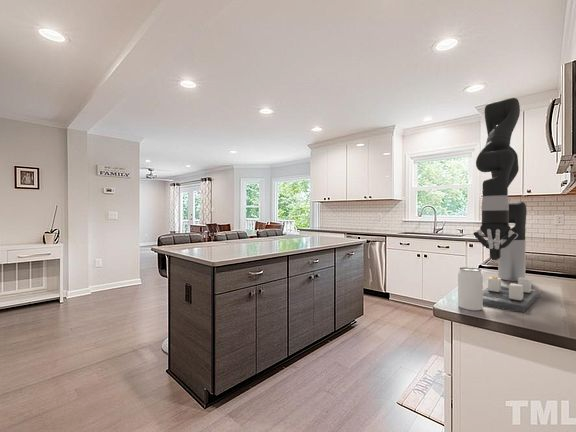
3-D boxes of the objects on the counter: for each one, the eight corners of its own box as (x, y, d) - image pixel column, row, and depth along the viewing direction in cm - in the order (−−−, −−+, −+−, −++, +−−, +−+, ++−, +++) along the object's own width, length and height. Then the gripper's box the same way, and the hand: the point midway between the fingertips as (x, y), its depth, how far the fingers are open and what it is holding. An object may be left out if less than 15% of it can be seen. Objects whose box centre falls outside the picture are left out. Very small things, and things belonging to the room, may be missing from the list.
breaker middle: (490, 288, 102) (490, 275, 102) (501, 290, 99) (501, 277, 99) (488, 290, 100) (488, 277, 100) (498, 291, 98) (498, 278, 97)
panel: (494, 288, 110) (494, 283, 110) (539, 296, 100) (539, 289, 100) (473, 302, 94) (473, 295, 94) (523, 313, 84) (523, 305, 84)
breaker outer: (511, 296, 92) (511, 283, 92) (523, 298, 90) (523, 284, 90) (508, 298, 91) (508, 284, 90) (520, 300, 88) (521, 286, 88)
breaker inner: (520, 289, 100) (520, 277, 100) (531, 290, 98) (531, 278, 98) (517, 290, 98) (518, 278, 98) (529, 292, 96) (529, 280, 96)
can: (486, 311, 86) (486, 271, 85) (462, 310, 87) (462, 270, 87) (477, 304, 92) (477, 267, 92) (454, 303, 93) (454, 266, 93)
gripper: (521, 208, 97) (521, 260, 97) (476, 209, 107) (476, 256, 107) (516, 209, 92) (516, 263, 92) (469, 209, 101) (469, 259, 102)
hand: (495, 259), depth 99 cm, fingers closed
